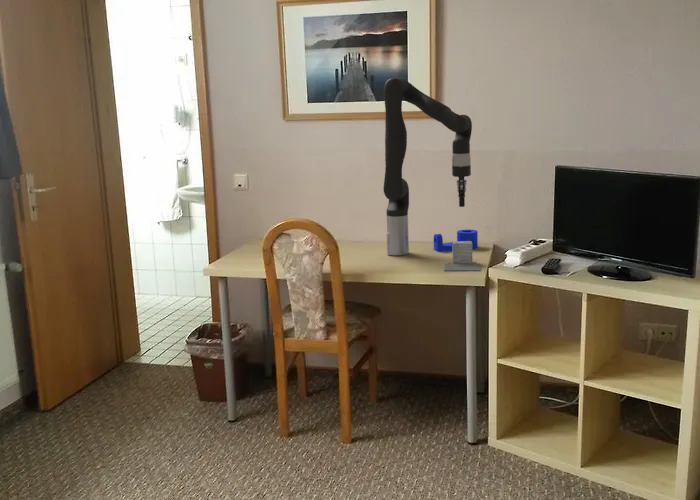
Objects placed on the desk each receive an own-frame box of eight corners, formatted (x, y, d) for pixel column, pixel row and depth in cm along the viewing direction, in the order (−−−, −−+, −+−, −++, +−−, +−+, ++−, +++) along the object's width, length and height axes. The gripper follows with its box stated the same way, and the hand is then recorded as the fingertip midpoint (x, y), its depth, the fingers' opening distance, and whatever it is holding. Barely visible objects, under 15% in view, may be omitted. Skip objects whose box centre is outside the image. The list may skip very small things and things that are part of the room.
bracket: (472, 245, 326) (472, 228, 325) (480, 249, 318) (480, 232, 316) (432, 249, 322) (431, 232, 320) (439, 253, 313) (438, 236, 312)
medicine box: (471, 261, 294) (471, 240, 292) (472, 264, 290) (472, 243, 288) (452, 262, 295) (452, 241, 293) (453, 264, 290) (452, 243, 289)
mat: (444, 271, 280) (444, 270, 280) (445, 264, 290) (445, 263, 290) (480, 271, 278) (480, 270, 277) (480, 264, 288) (480, 263, 288)
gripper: (452, 163, 300) (453, 204, 303) (451, 166, 287) (452, 209, 290) (470, 162, 299) (471, 203, 302) (470, 165, 286) (471, 208, 289)
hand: (461, 206), depth 296 cm, fingers closed
